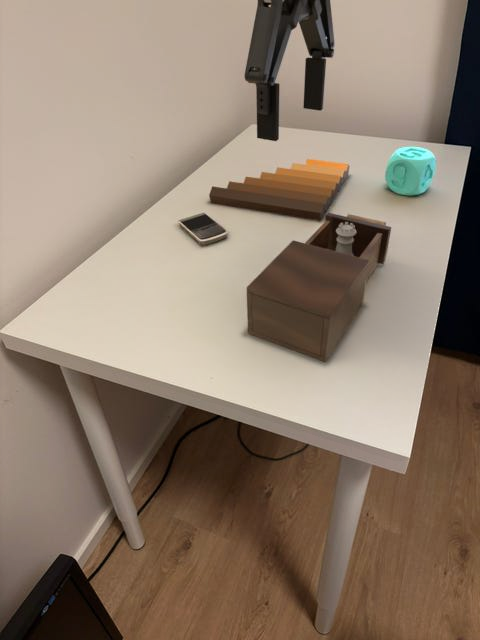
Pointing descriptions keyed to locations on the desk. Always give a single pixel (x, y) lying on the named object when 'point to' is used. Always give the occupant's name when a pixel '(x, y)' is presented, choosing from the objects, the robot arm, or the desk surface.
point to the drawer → (356, 237)
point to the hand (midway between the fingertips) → (291, 123)
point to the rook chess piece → (345, 238)
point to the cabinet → (306, 298)
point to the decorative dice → (410, 170)
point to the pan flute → (287, 190)
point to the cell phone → (203, 228)
